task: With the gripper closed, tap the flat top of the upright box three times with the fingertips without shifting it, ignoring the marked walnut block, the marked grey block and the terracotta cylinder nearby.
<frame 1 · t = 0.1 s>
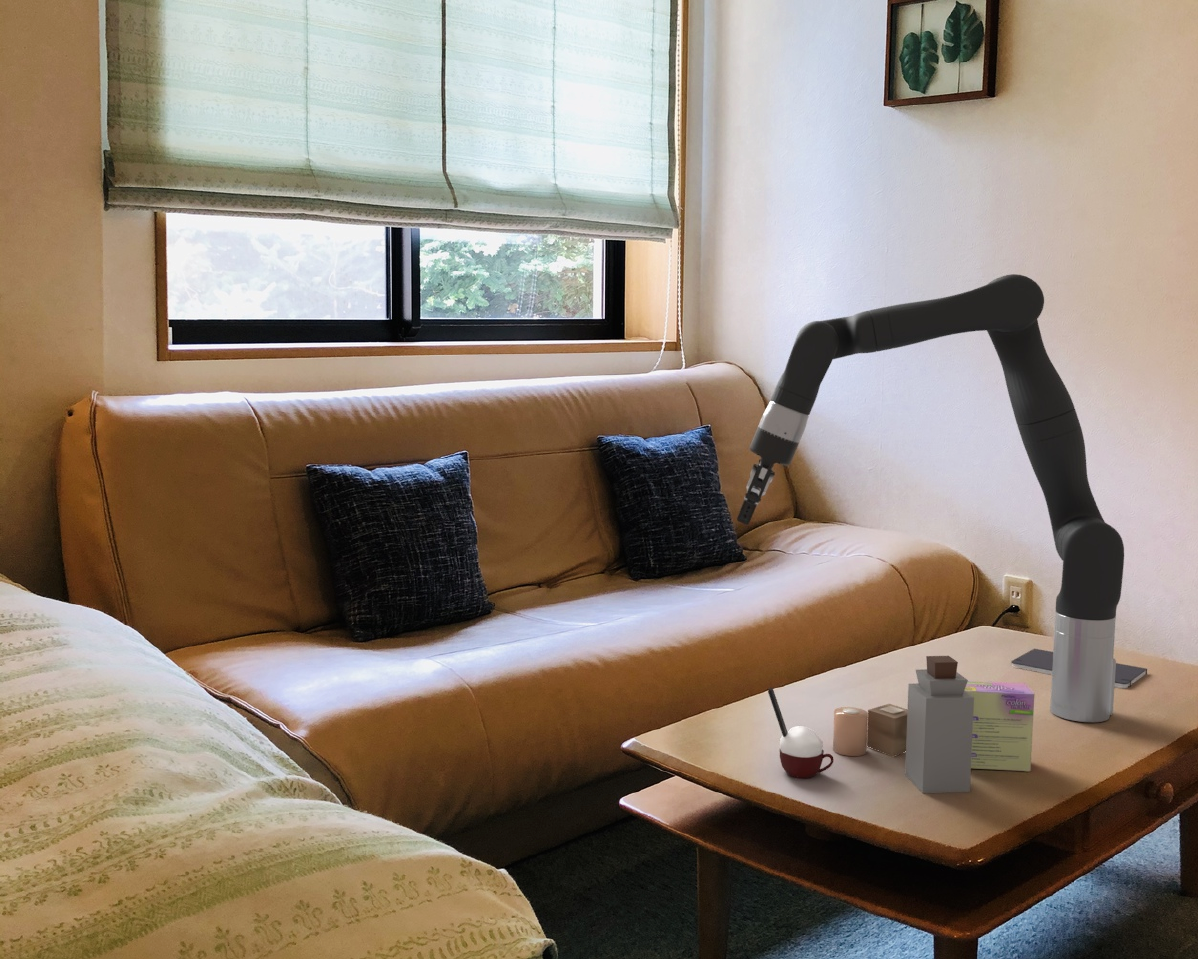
hand: (743, 519, 193), 31 cm above the table, tool tilted 20°, fingers open, 8 cm apart
walnut block: (890, 748, 171), on the table
notebook: (1077, 674, 213), on the table
perfume bottle: (936, 784, 158), on the table
cocoa: (799, 774, 161), on the table
box: (989, 765, 165), on the table
terracotta cylinder: (849, 750, 170), on the table
grey block: (933, 738, 176), on the table
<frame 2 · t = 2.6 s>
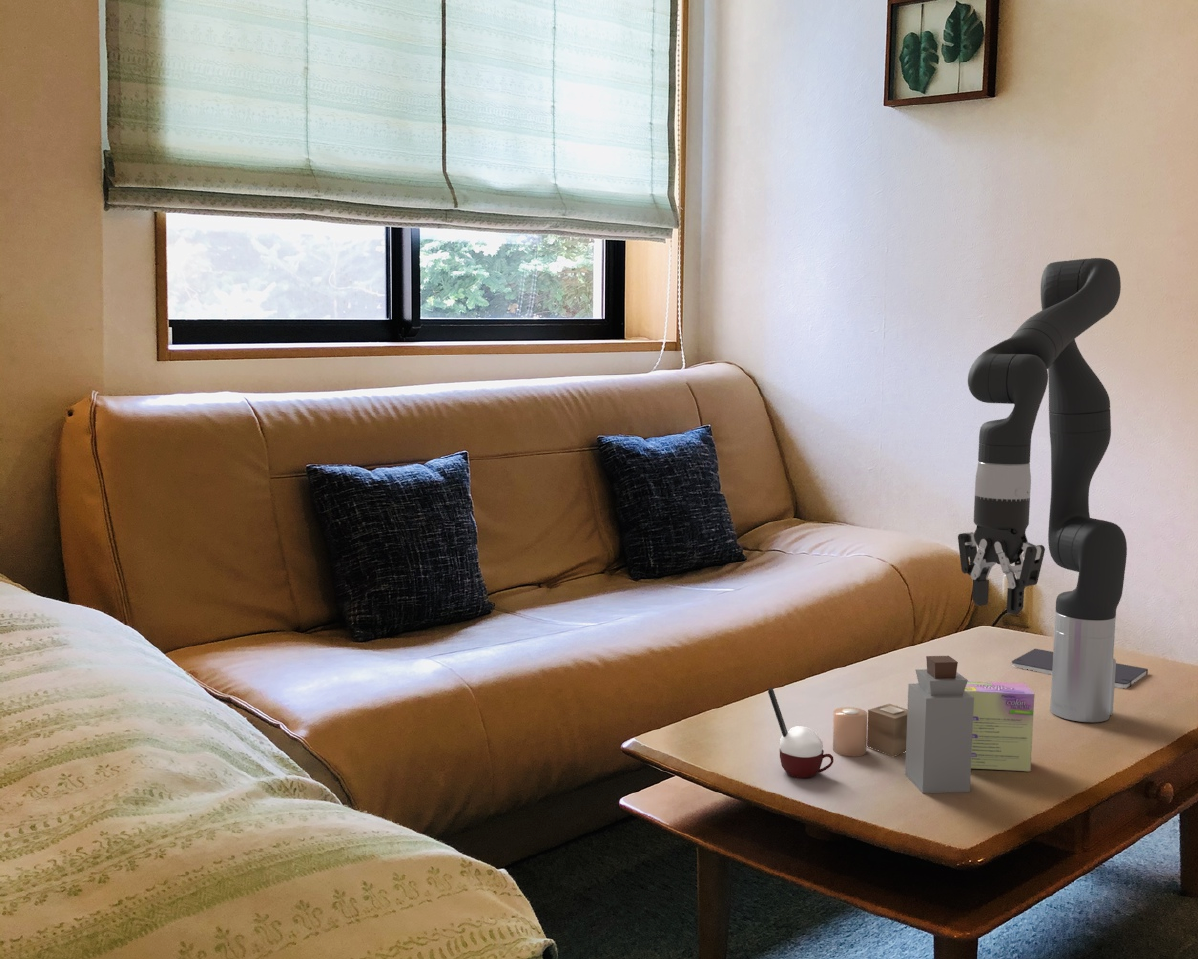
hand: (996, 608, 162), 23 cm above the table, tool pointing down, fingers open, 5 cm apart
nothing on the table moved.
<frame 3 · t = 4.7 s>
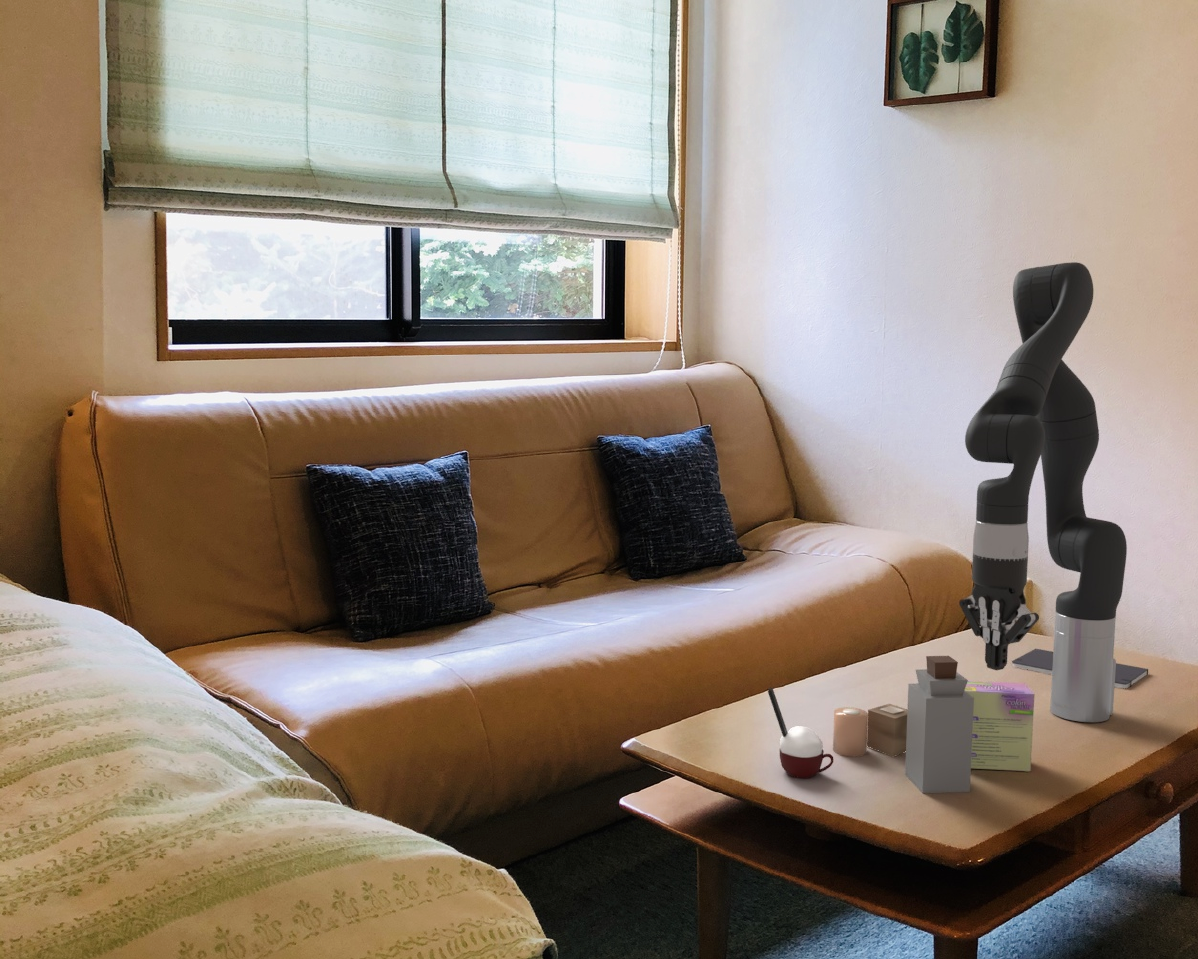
hand: (995, 668, 163), 14 cm above the table, tool pointing down, fingers closed
nothing on the table moved.
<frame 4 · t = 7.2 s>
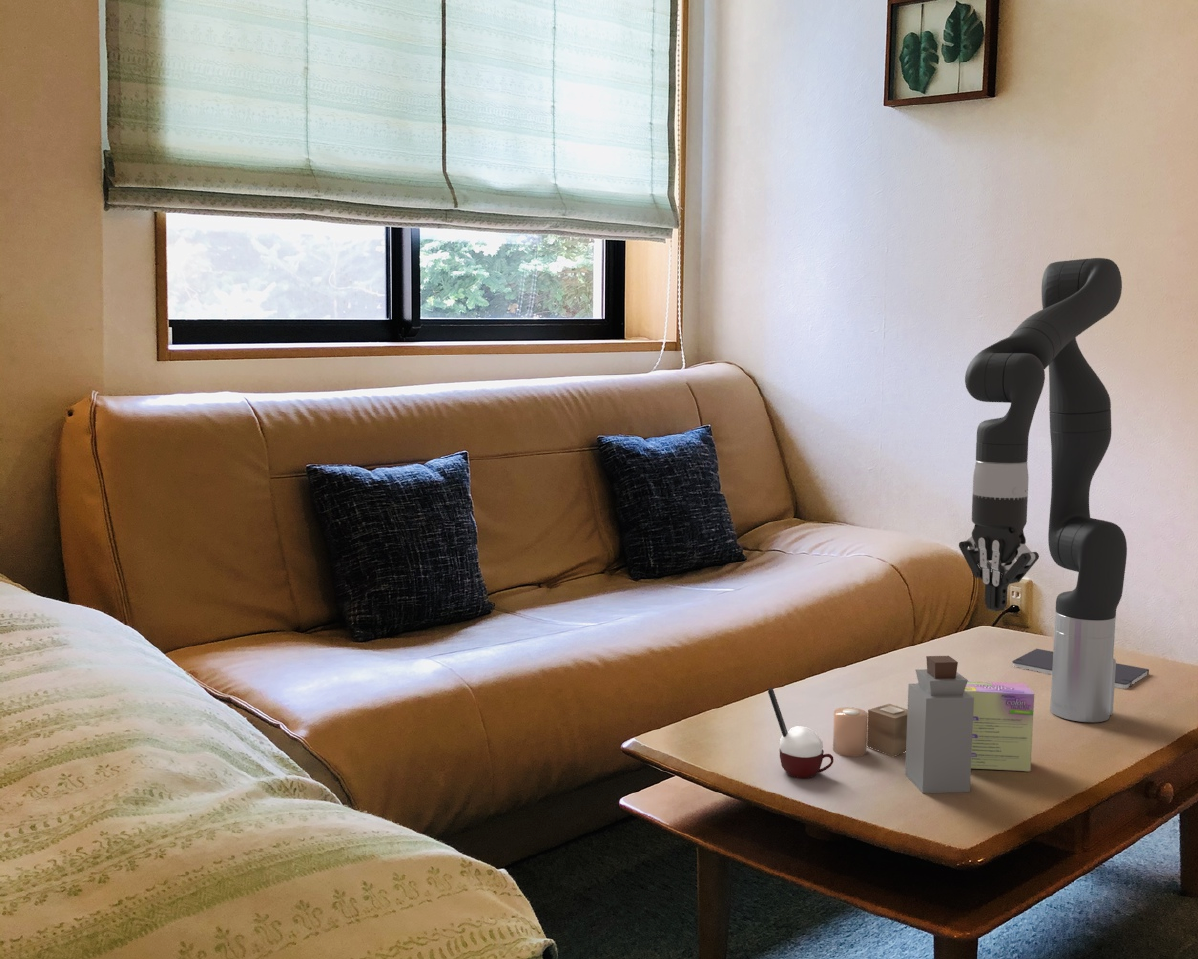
hand: (995, 609, 163), 23 cm above the table, tool pointing down, fingers closed
nothing on the table moved.
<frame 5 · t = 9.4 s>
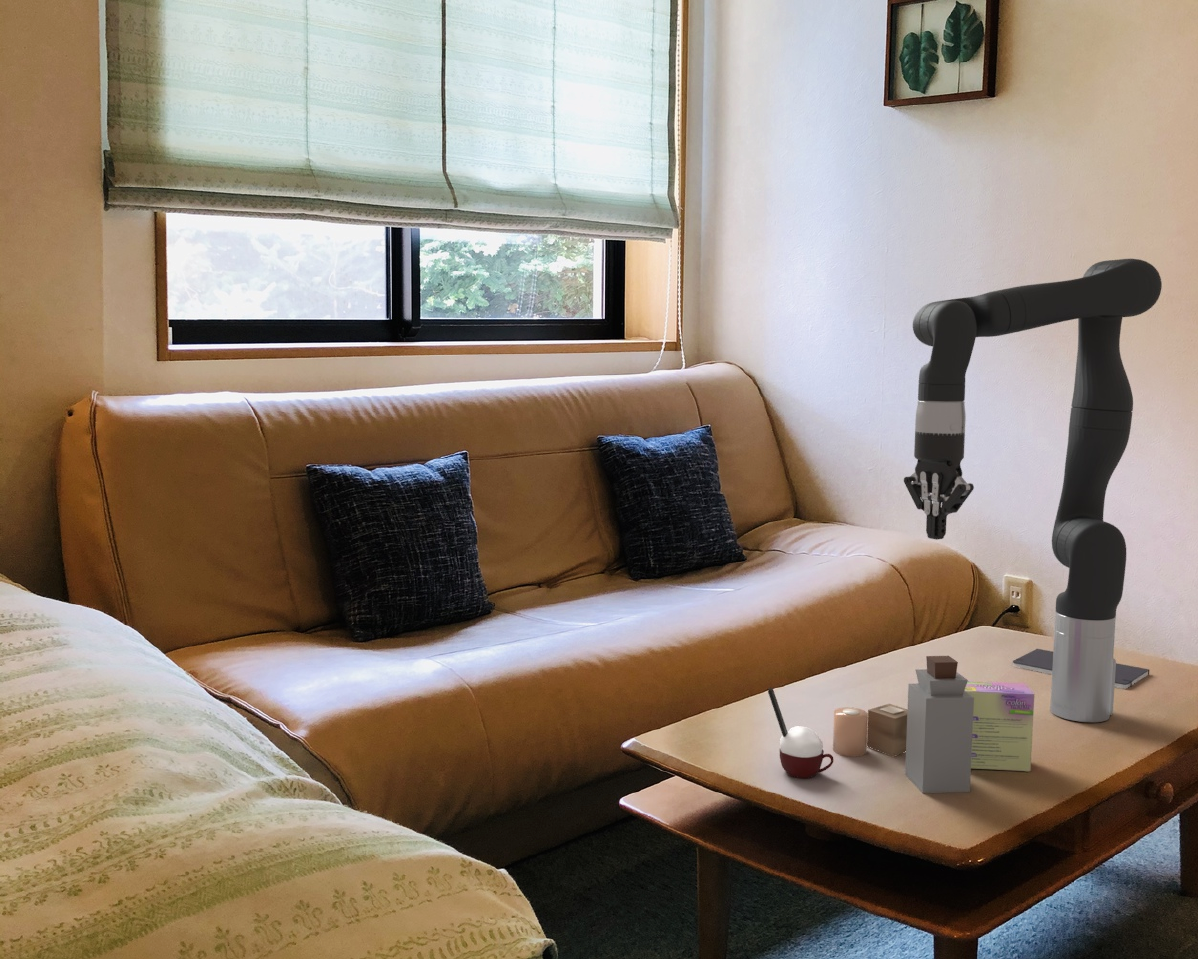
hand: (935, 538, 177), 31 cm above the table, tool pointing down, fingers closed
nothing on the table moved.
at the end: box moved 0.3 cm from its start; box tilted 0°; walnut block moved 0.7 cm from its start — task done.
